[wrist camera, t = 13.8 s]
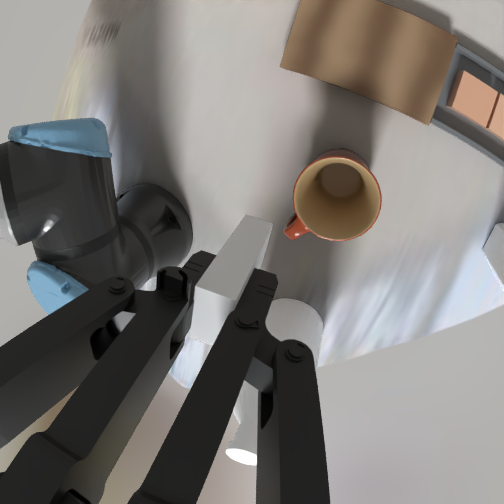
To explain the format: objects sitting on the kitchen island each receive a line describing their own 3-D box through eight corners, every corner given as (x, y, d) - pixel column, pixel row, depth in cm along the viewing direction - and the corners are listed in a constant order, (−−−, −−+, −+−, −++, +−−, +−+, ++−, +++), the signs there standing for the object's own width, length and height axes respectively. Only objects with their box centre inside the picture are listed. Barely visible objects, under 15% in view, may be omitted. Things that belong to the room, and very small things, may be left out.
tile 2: (445, 106, 29) (451, 106, 27) (457, 71, 26) (464, 70, 24) (478, 125, 28) (485, 127, 26) (489, 91, 26) (497, 92, 24)
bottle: (246, 330, 55) (188, 449, 35) (272, 284, 49) (210, 419, 28) (304, 358, 55) (268, 482, 34) (338, 317, 48) (312, 460, 27)
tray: (426, 120, 31) (430, 122, 29) (451, 45, 25) (457, 43, 23) (519, 178, 29) (526, 183, 27) (544, 111, 23) (552, 112, 22)
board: (284, 68, 33) (279, 66, 31) (310, -13, 27) (307, -21, 24) (422, 123, 31) (428, 125, 29) (450, 41, 25) (457, 37, 22)
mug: (343, 126, 35) (341, 137, 26) (388, 180, 36) (399, 208, 28) (275, 185, 41) (253, 213, 33) (319, 233, 43) (308, 272, 34)
